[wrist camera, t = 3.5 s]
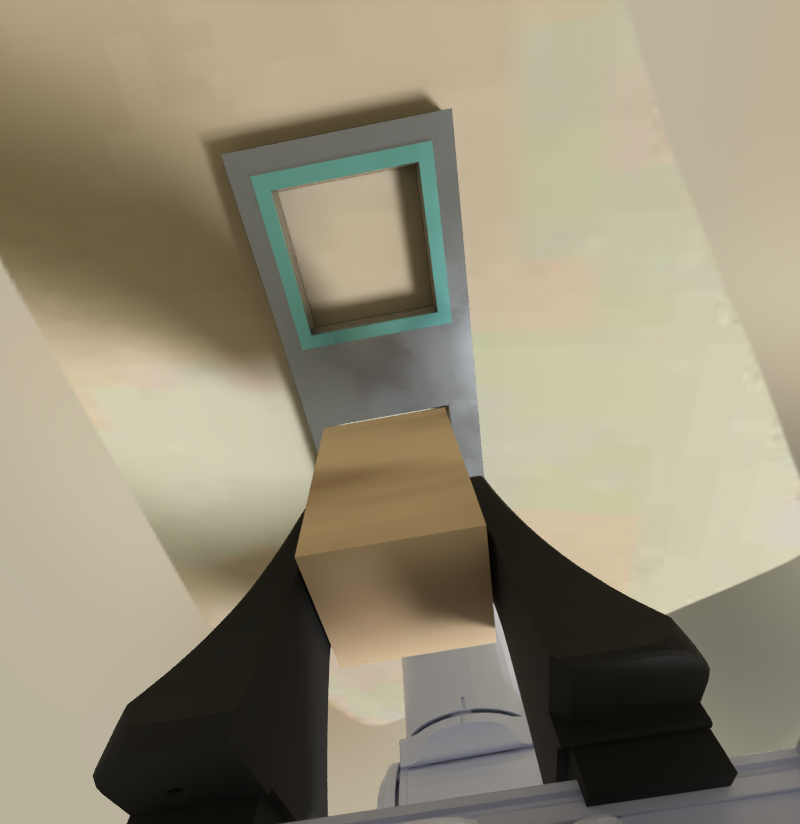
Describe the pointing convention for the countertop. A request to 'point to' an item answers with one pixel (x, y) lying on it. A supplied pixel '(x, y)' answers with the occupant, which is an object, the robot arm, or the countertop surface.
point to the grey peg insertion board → (380, 335)
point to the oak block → (396, 541)
